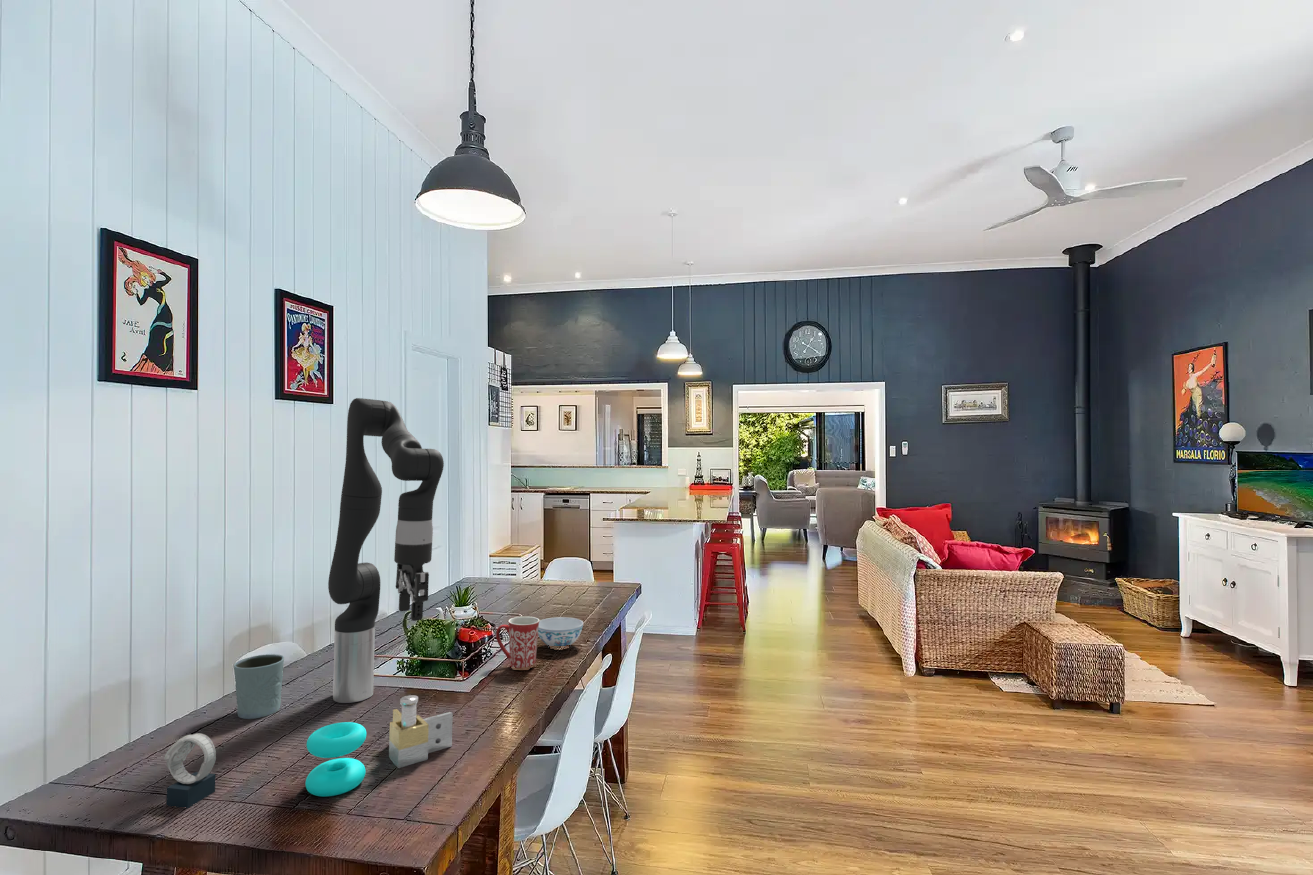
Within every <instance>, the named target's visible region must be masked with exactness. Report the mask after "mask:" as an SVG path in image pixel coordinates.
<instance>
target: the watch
mask: <svg viewBox="0 0 1313 875" xmlns="http://www.w3.org/2000/svg"><path fill="white" fill-rule="evenodd" d="M196 745H197V746H198V747H200V749H201V750H202V753H203V755H204V757H203V762H202V763H201V765H200V768H199V771H195V772H192V773H190V772H188V771H187V769H186V768H185V765H184V763H183V762H184V761H185V760H186V758H187V756H188V755H190V753H191V752H192V751H193V750H194V748H195V746H196ZM216 754H217V752H216V747H215V745H214V743H213V740H212V739H211V738H210V737H209V736H208V735H206V734H204V733H199V732H198V733H197V732H196V733H193V734H187V735H185V736H183V737H181V738H180V739H178V740H177V741H175V743H174V744H173V745H171V747H170V748H169V749H168V750H167V751H166V753H165V755H164V760H165V761H166V762H165V763H166V768H167V769H168V771H169V772H170V775H171V776H172V777H173V779H174V780H175V781H176V782H175V783H173V784H171V785H169V786H168V787H166V800H165V801H166V803H165V804H166V805H168V806H167V807H172V806H176V807H175V808H180V807H186V808H185V809H190V808H191V807H193V806H194V805H195V803H196V804H197V803H199V802H200V801H202V800H204V799H205V798H207V797H208V796H210V795H212V794H214V793H215V792H216V775H217V774H215V773H210V772H211V771H212V770H213V768H214V766H215V763H216V759H217V757H216V756H217V755H216ZM193 804H194V805H193ZM166 805H165V806H166ZM190 806H191V807H190Z"/></svg>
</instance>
